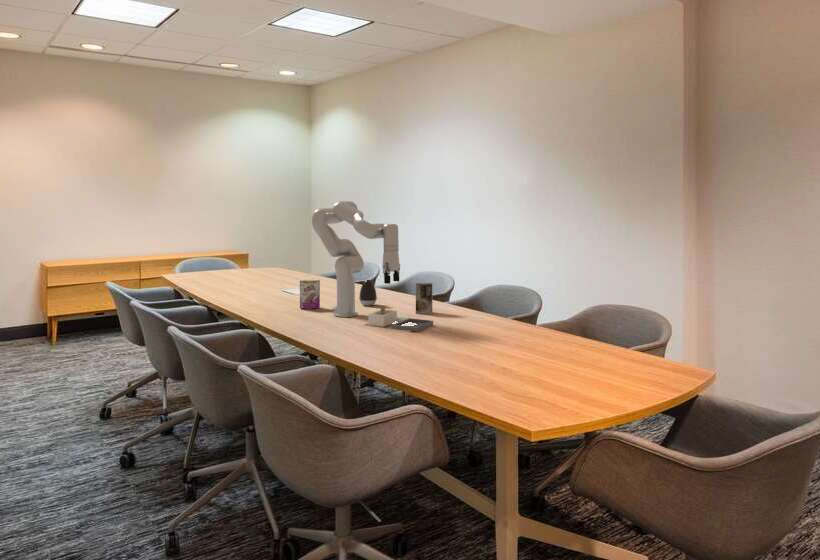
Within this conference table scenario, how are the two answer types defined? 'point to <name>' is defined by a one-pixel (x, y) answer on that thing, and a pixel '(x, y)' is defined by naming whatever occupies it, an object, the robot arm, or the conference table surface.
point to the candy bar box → (309, 293)
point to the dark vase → (367, 293)
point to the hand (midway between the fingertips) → (391, 282)
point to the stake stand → (381, 314)
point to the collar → (382, 318)
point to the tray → (416, 328)
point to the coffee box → (424, 298)
